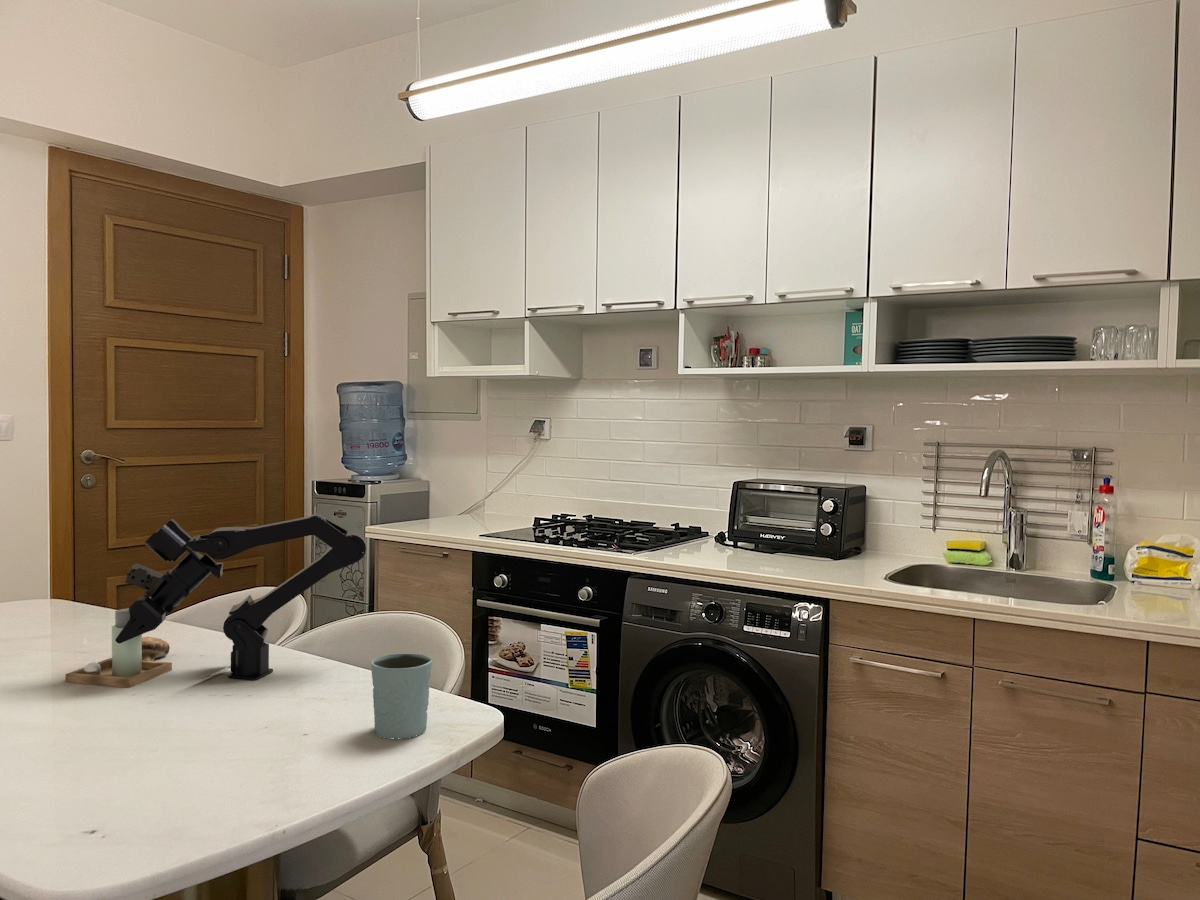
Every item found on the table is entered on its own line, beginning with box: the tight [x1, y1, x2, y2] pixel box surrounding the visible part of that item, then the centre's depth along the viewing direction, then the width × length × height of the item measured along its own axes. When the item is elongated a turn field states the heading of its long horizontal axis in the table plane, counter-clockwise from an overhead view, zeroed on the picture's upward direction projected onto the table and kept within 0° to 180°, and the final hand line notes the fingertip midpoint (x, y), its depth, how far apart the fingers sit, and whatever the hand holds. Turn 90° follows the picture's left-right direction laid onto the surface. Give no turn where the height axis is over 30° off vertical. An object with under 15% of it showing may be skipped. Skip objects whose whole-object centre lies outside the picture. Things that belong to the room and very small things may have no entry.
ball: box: [83, 661, 102, 675], centre depth 175 cm, size 3×3×3 cm
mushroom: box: [142, 636, 170, 661], centre depth 188 cm, size 8×8×6 cm
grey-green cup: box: [370, 652, 433, 740], centre depth 152 cm, size 10×10×12 cm
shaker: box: [111, 607, 143, 678], centre depth 176 cm, size 5×5×13 cm
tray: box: [65, 657, 173, 689], centre depth 176 cm, size 14×12×2 cm
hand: (123, 636), depth 176 cm, fingers open, 9 cm apart
